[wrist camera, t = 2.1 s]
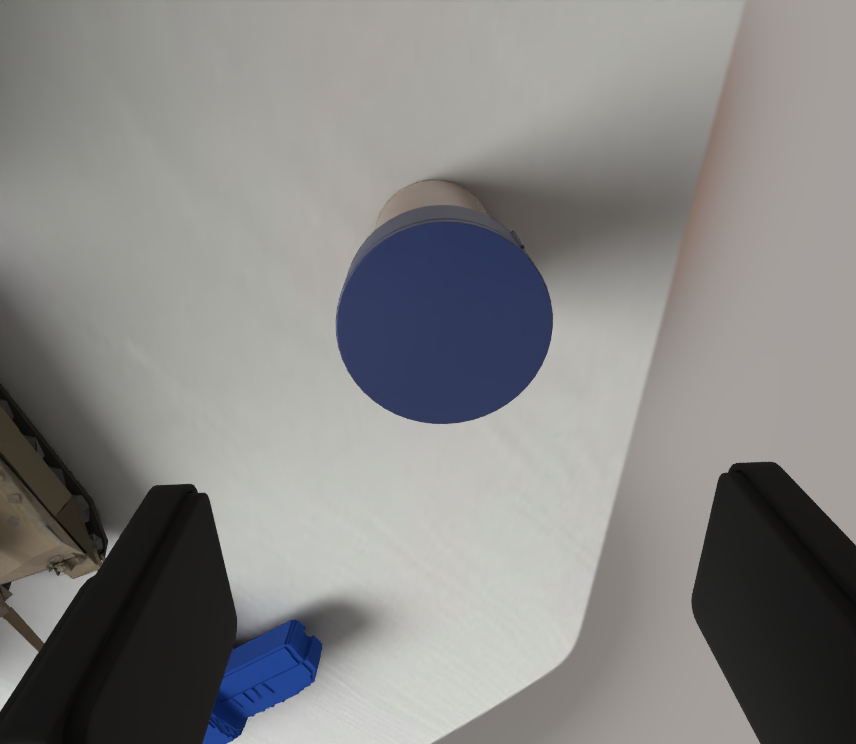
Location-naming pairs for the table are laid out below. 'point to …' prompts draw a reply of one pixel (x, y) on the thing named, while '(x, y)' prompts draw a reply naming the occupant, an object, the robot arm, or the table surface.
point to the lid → (443, 315)
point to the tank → (40, 513)
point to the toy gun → (262, 678)
